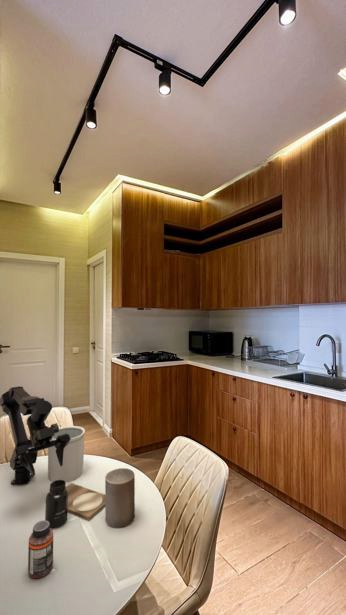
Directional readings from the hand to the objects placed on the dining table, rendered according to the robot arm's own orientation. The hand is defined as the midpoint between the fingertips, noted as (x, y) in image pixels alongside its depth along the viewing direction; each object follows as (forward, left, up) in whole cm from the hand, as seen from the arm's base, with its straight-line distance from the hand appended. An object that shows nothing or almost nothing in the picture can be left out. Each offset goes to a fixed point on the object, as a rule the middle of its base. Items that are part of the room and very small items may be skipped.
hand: (48, 470), depth 100 cm
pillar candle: (+5, +25, -13) cm, 29 cm away
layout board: (-4, +9, -13) cm, 17 cm away
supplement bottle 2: (+6, +5, -13) cm, 16 cm away
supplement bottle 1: (+24, +7, -13) cm, 28 cm away
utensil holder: (-23, -1, -13) cm, 27 cm away
